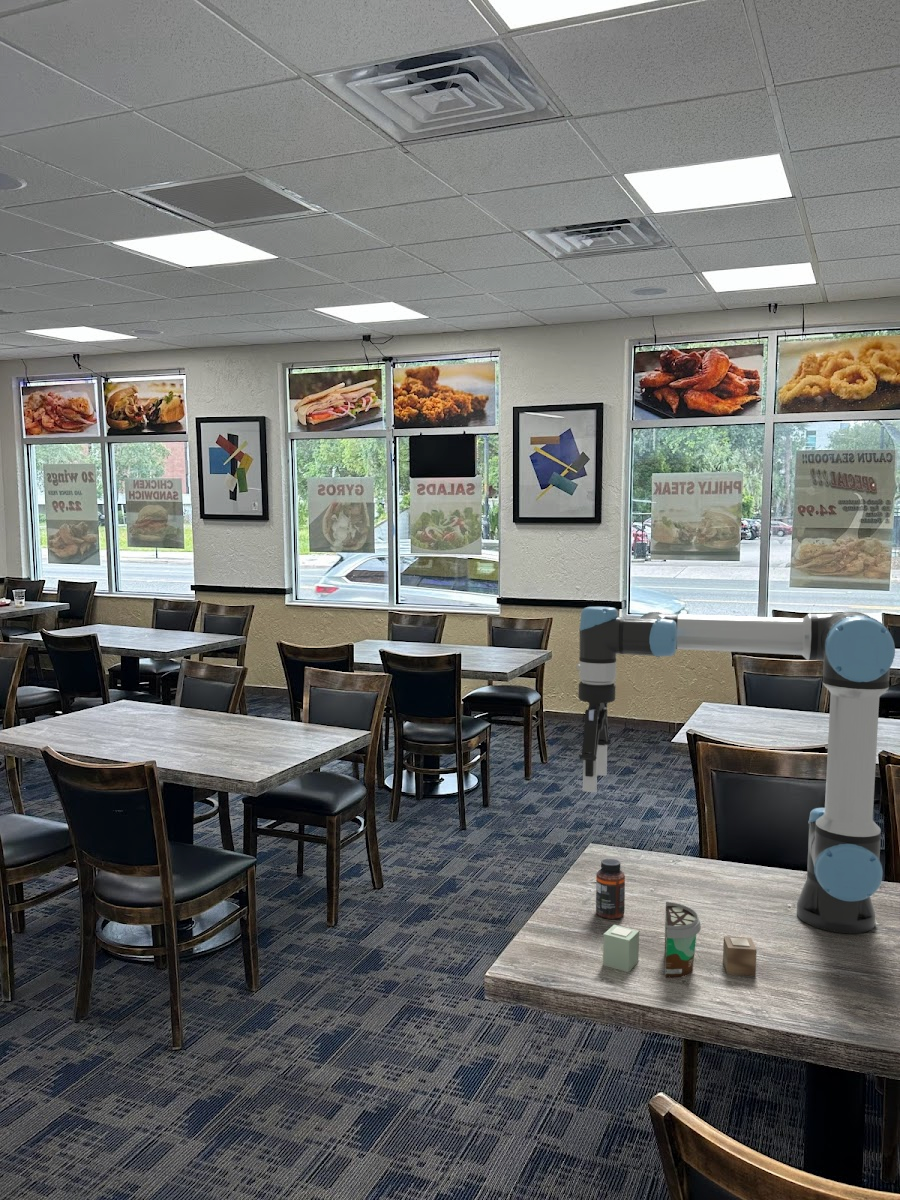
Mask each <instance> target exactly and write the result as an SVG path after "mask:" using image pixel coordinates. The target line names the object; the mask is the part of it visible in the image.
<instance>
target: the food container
mask: <svg viewBox="0 0 900 1200" xmlns="http://www.w3.org/2000/svg"><path fill="white" fill-rule="evenodd" d="M664 920H665V924H664V927H665V928H664V968H665V970H664V971H665V978H666V979H667V978H670V979H675V978H678V979H679V978H683V977H687V976H689V975H690V974H691V973H693V971H694V969H693V968H694V958H695V950H696V943H697V942H696V941H697V935H698V934H699V933H700V931H701V930H702V927H701V920H700V917H699V915H698V914H697V912H696V911H695V910H694V909H692V908H690V907H688V906H687V905H684V904H681V903H677V902H672V901H671V902H670V901H666V902H665V919H664Z"/></svg>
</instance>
